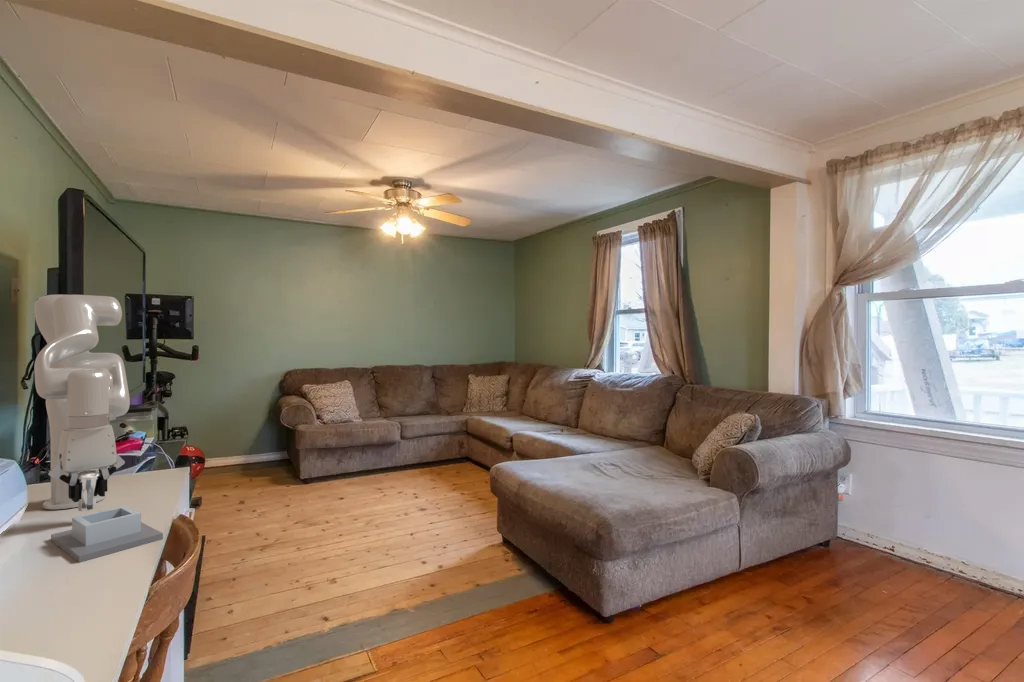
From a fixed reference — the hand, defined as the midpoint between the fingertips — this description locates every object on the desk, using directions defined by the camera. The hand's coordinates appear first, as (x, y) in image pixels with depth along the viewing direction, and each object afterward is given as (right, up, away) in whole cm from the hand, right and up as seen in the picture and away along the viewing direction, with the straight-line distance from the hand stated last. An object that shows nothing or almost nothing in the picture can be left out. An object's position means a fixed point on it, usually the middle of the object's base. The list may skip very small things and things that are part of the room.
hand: (88, 497), depth 118 cm
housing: (+13, -6, -11) cm, 18 cm away
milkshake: (0, -3, 0) cm, 3 cm away
